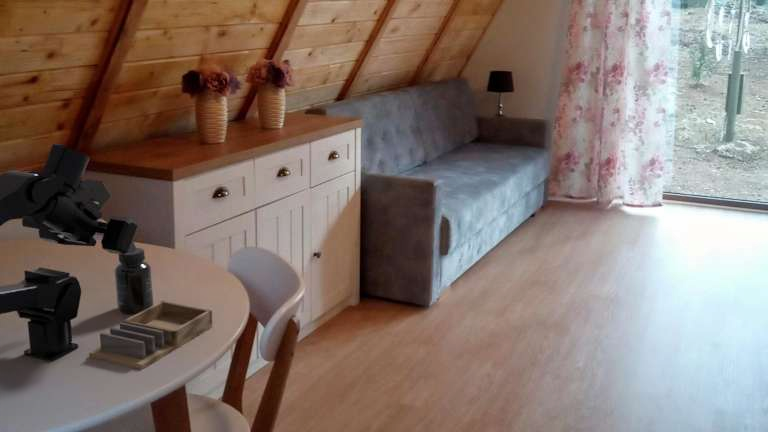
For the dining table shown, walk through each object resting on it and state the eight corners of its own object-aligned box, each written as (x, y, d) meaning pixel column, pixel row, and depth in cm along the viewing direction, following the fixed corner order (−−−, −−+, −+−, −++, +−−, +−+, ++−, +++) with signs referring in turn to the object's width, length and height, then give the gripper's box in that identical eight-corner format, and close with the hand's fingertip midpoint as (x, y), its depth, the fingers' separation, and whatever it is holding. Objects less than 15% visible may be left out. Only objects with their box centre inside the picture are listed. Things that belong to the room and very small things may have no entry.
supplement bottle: (140, 300, 168) (136, 243, 165) (160, 308, 164) (157, 250, 161) (110, 309, 163) (106, 251, 160) (130, 318, 159) (126, 258, 155)
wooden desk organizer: (142, 369, 138) (141, 348, 137) (89, 356, 142) (87, 336, 141) (212, 326, 155) (211, 307, 154) (163, 317, 160) (162, 298, 159)
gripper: (121, 177, 141) (170, 213, 154) (37, 166, 148) (91, 202, 161) (97, 237, 137) (149, 269, 151) (12, 223, 144) (69, 255, 158)
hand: (114, 246), depth 155 cm, fingers open, 9 cm apart
